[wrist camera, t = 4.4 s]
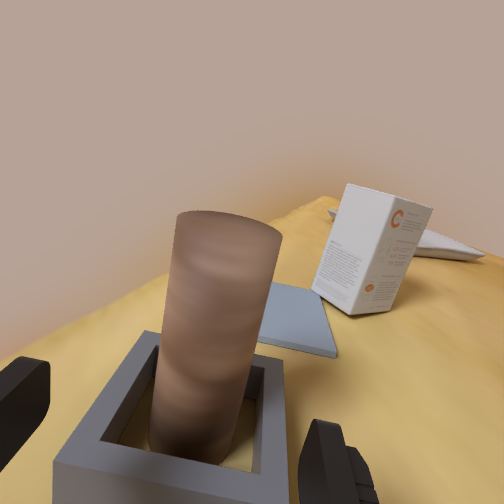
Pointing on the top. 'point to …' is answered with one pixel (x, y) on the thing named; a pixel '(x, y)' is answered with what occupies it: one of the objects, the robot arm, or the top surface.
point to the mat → (296, 321)
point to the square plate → (439, 246)
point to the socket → (164, 466)
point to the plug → (209, 331)
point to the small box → (369, 250)
